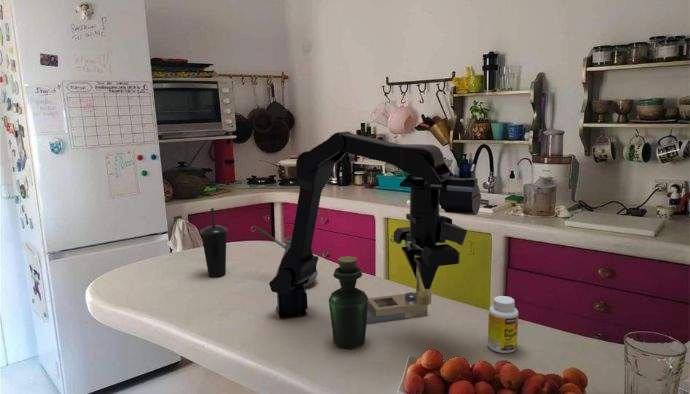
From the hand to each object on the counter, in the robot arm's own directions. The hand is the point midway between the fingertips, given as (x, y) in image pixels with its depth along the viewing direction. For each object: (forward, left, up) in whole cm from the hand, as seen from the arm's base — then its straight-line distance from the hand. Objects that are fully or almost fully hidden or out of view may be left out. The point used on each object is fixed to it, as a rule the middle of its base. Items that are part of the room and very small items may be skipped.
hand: (423, 285), depth 101 cm
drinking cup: (-41, +56, -13) cm, 71 cm away
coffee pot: (-23, +45, -13) cm, 52 cm away
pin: (0, 0, -4) cm, 4 cm away
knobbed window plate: (-3, +15, -12) cm, 20 cm away
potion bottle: (-14, +5, -13) cm, 20 cm away
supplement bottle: (+14, -7, -13) cm, 20 cm away
